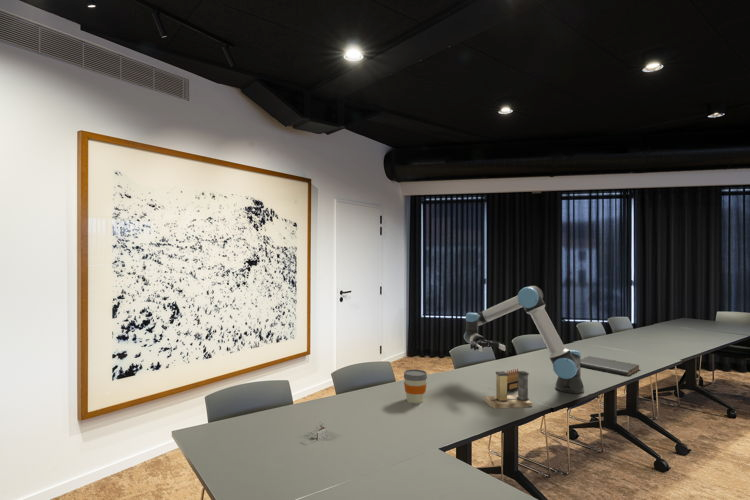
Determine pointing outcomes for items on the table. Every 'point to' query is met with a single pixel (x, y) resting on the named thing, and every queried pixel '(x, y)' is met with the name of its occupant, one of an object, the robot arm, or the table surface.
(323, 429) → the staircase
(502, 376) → the brass leg
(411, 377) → the reusable coffee cup
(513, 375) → the ammunition clip
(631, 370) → the grey hardcover book
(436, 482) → the table surface
